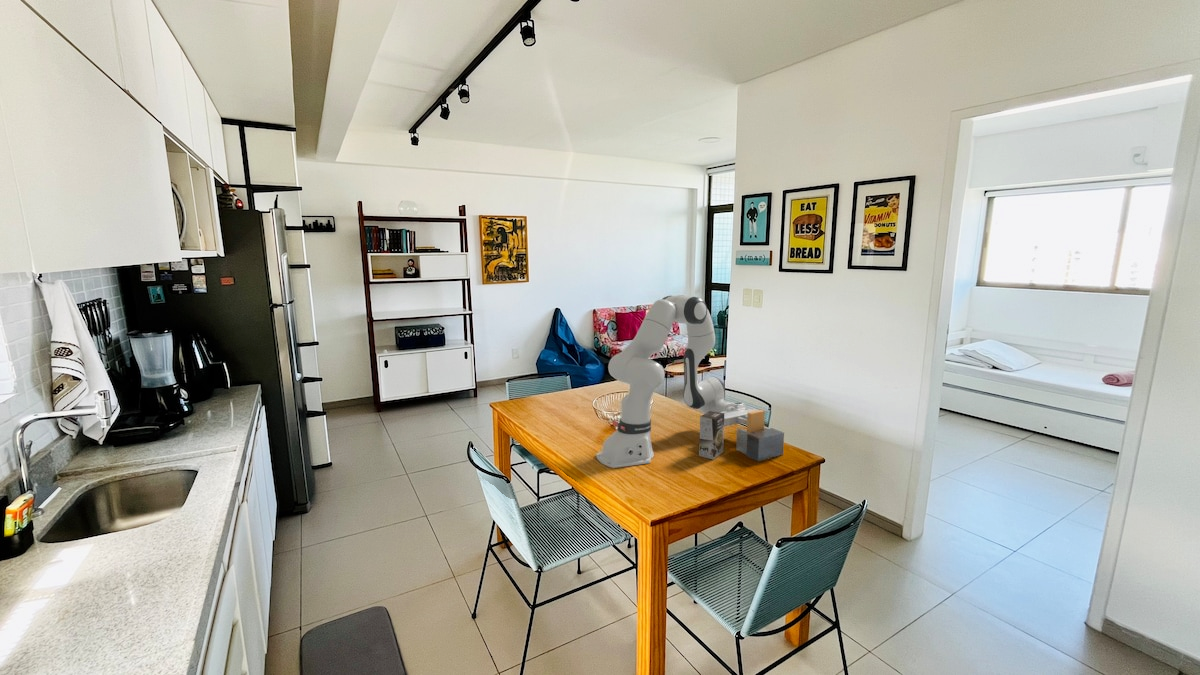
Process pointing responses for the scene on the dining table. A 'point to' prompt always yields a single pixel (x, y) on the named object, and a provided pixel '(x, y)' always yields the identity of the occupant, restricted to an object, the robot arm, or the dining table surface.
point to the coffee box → (711, 434)
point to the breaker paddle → (755, 421)
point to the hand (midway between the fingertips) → (750, 422)
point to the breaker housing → (760, 443)
